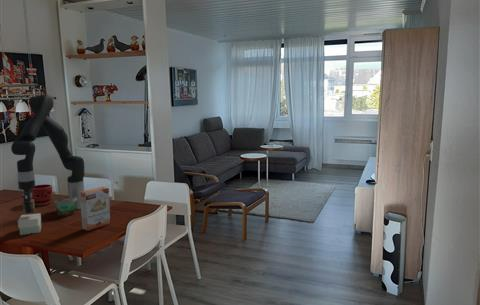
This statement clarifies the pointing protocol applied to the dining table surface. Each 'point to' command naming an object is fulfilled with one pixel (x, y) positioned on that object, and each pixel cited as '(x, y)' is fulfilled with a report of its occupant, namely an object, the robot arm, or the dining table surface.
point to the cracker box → (95, 208)
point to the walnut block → (31, 207)
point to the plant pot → (42, 194)
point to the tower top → (29, 220)
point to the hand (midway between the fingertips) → (29, 210)
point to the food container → (66, 207)
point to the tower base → (30, 230)
